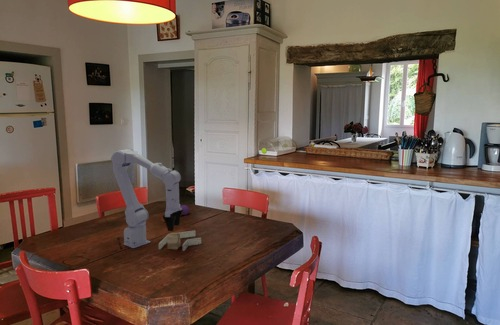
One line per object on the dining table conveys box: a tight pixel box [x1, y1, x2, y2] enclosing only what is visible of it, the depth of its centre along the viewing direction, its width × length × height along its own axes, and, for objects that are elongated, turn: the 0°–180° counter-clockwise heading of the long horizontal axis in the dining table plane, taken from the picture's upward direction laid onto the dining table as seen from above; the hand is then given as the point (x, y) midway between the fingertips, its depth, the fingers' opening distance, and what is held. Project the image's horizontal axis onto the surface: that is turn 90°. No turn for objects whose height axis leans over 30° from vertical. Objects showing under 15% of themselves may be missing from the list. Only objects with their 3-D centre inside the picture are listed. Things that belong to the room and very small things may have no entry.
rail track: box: [158, 230, 202, 252], centre depth 168 cm, size 22×17×3 cm
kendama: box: [160, 204, 190, 223], centre depth 209 cm, size 6×6×20 cm
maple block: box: [166, 232, 181, 250], centre depth 163 cm, size 4×4×6 cm
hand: (173, 228), depth 162 cm, fingers open, 7 cm apart
